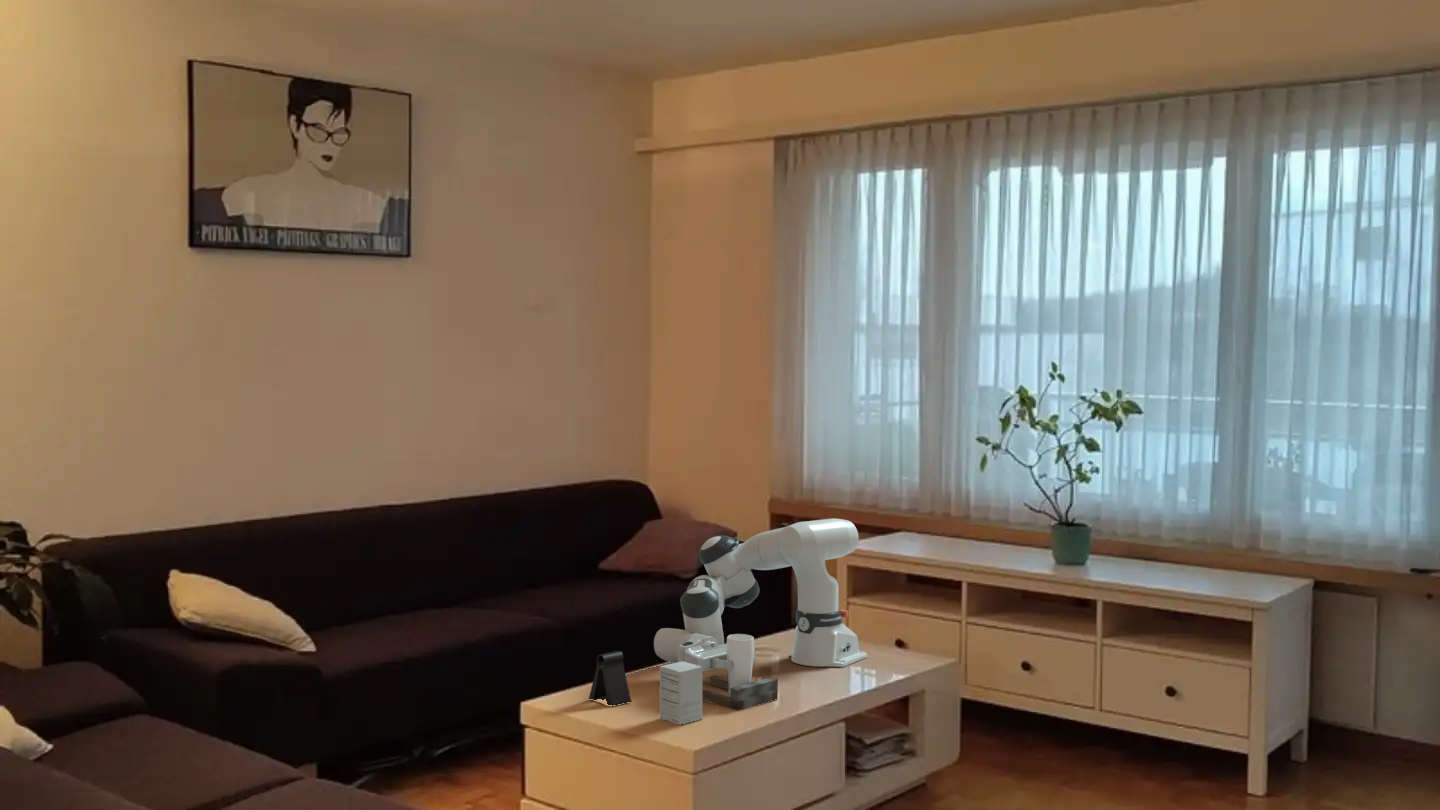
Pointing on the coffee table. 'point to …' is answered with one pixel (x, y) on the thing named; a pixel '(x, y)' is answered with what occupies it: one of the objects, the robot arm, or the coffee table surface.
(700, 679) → the supplement box
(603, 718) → the coffee table surface
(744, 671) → the drinking glass
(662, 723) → the coffee table surface
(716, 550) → the robot arm
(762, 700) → the guide track
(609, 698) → the phone stand
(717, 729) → the coffee table surface
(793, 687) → the coffee table surface
